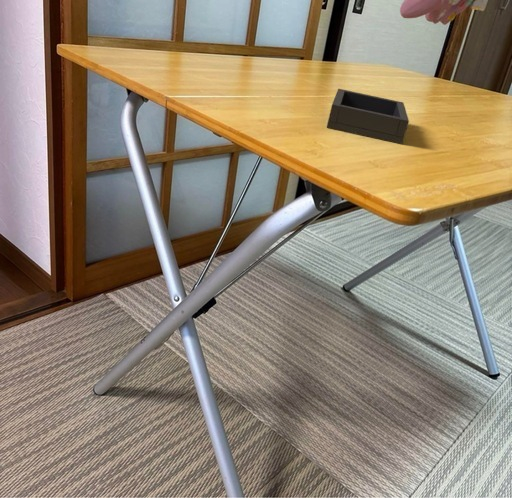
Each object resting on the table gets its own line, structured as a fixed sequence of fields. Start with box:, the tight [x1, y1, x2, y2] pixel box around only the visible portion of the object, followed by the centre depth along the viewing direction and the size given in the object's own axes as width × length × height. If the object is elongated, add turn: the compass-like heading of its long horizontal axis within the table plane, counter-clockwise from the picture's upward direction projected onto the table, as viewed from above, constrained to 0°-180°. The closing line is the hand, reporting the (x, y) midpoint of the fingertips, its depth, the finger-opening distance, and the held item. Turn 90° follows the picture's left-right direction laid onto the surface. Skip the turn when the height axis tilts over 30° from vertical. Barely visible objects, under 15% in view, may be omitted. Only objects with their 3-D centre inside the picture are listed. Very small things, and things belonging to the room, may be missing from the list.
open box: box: [326, 88, 410, 145], centre depth 83 cm, size 11×15×4 cm
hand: (440, 3), depth 59 cm, fingers closed on video game controller, 6 cm apart
